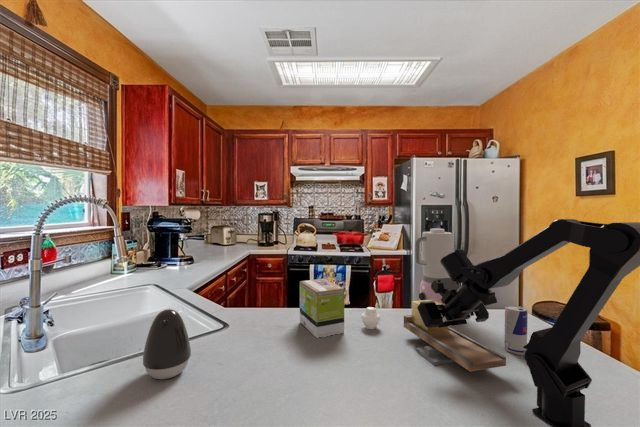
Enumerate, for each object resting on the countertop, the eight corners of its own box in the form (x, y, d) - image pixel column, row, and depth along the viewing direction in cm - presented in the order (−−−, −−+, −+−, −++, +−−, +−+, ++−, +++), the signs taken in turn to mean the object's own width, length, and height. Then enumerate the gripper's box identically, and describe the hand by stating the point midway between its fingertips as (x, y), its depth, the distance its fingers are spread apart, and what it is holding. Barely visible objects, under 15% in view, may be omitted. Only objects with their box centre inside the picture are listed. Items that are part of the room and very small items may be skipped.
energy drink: (530, 356, 84) (531, 311, 84) (508, 354, 85) (509, 310, 85) (521, 347, 89) (522, 305, 89) (501, 345, 90) (501, 304, 90)
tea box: (298, 322, 107) (298, 280, 107) (324, 318, 112) (324, 277, 111) (316, 339, 94) (316, 290, 94) (345, 334, 98) (345, 287, 98)
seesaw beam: (505, 365, 72) (506, 350, 72) (470, 371, 69) (470, 355, 69) (431, 323, 99) (431, 313, 99) (403, 326, 96) (403, 315, 96)
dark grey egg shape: (136, 389, 67) (136, 319, 67) (149, 365, 77) (149, 305, 77) (187, 382, 70) (187, 315, 70) (193, 360, 80) (193, 301, 80)
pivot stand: (479, 358, 82) (480, 348, 82) (434, 365, 79) (434, 355, 79) (458, 345, 90) (458, 336, 90) (416, 351, 86) (416, 342, 86)
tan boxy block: (448, 331, 89) (448, 307, 89) (427, 333, 87) (427, 309, 87) (431, 321, 97) (431, 299, 97) (411, 324, 95) (411, 301, 95)
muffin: (379, 324, 106) (379, 304, 106) (380, 331, 100) (380, 310, 100) (361, 323, 107) (361, 303, 107) (361, 330, 101) (361, 309, 101)
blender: (439, 306, 126) (440, 227, 126) (461, 316, 114) (462, 229, 114) (405, 310, 121) (406, 228, 121) (425, 321, 110) (426, 230, 109)
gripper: (481, 268, 85) (453, 298, 96) (421, 272, 80) (399, 302, 91) (505, 305, 78) (472, 333, 88) (441, 312, 72) (414, 340, 83)
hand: (438, 326), depth 88 cm, fingers closed, pressing on tan boxy block
